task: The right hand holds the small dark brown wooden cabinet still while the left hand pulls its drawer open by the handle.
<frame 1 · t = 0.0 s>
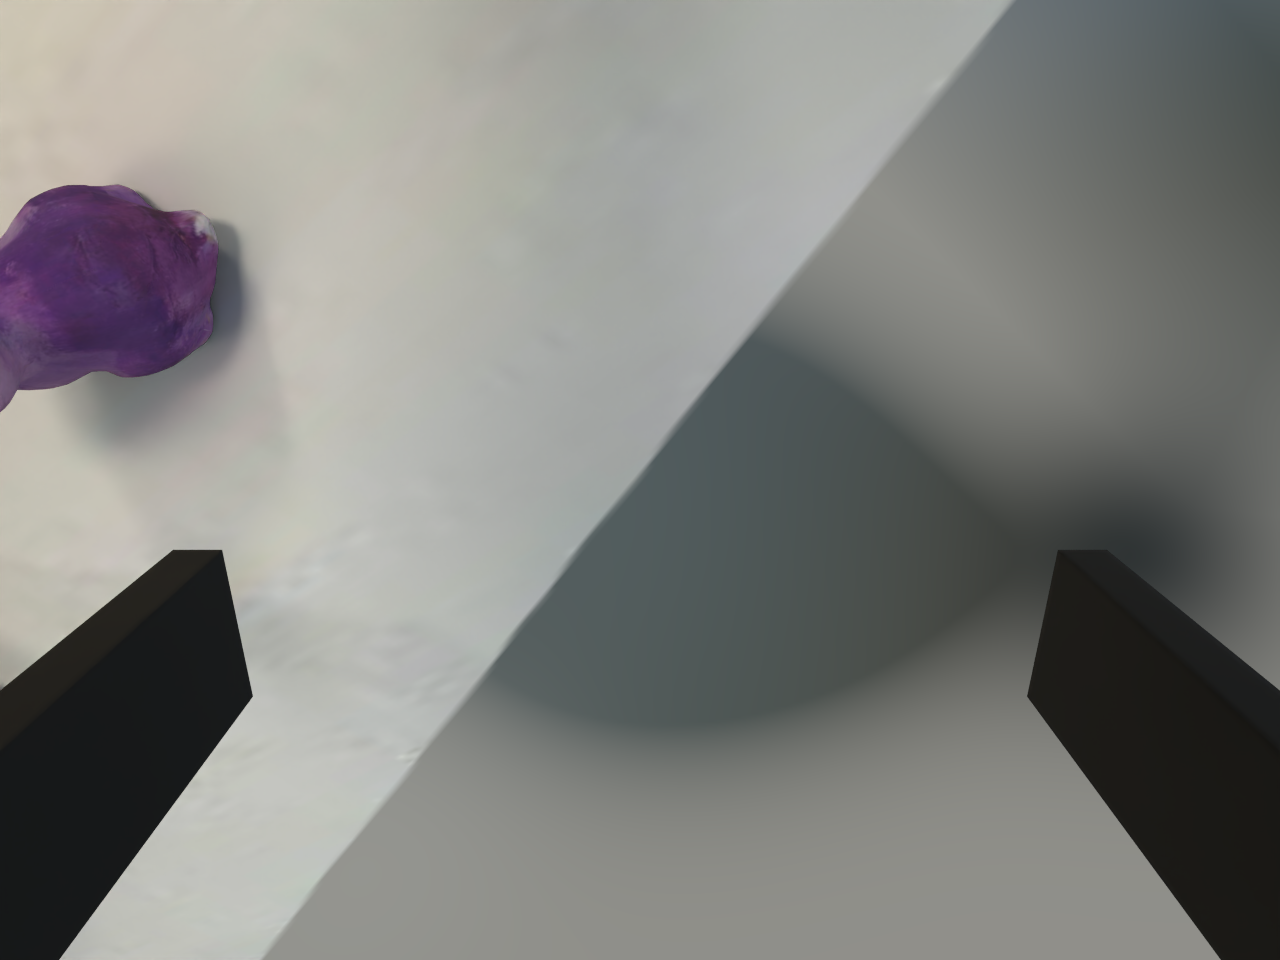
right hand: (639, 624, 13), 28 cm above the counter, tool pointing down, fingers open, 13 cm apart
figurine: (135, 295, 38), on the counter
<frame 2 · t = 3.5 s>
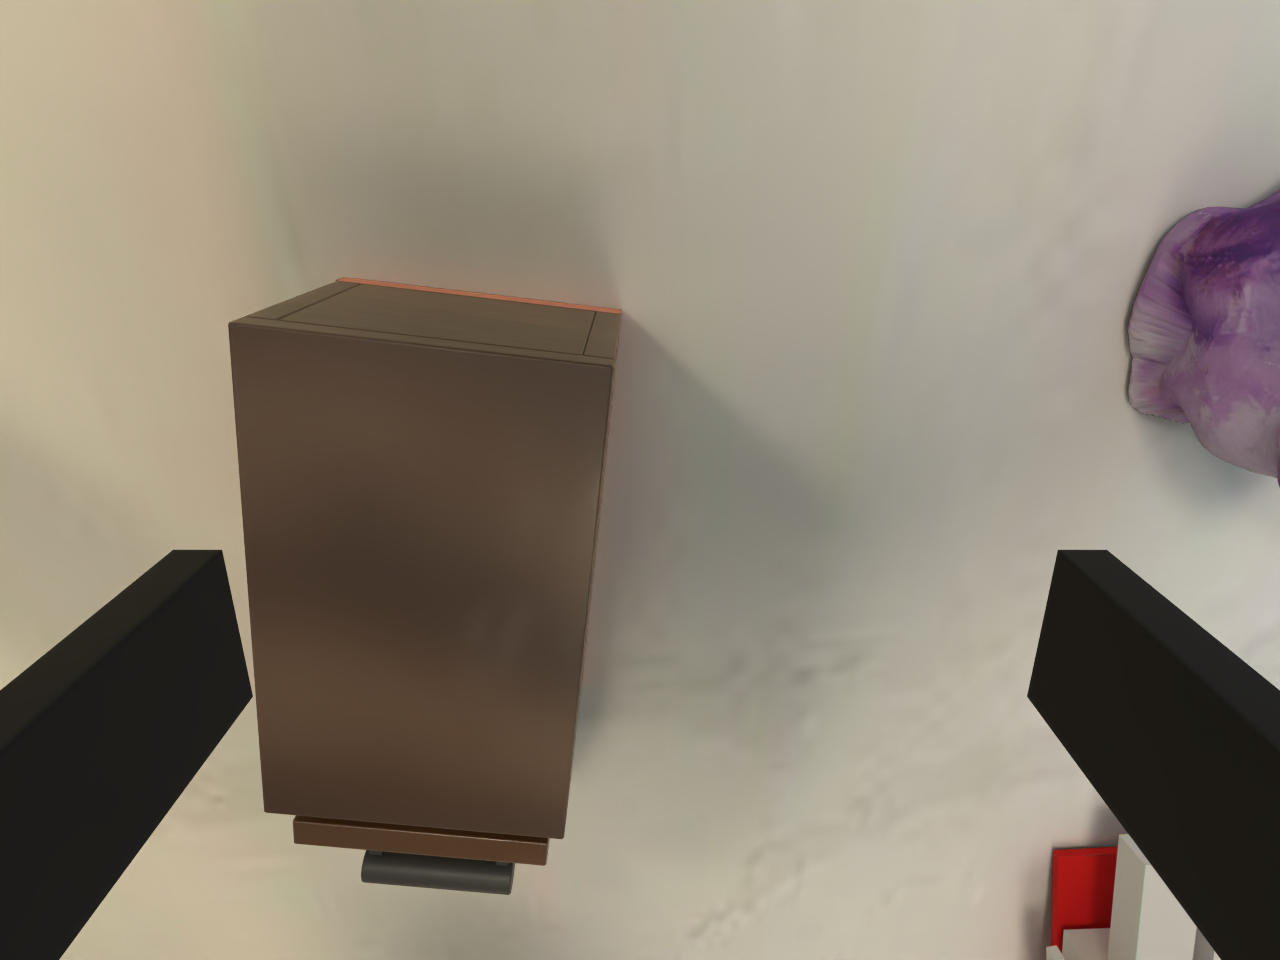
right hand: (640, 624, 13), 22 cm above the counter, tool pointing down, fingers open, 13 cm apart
drawer: (446, 678, 33), point 5 cm above the counter, slide at 1.3 cm
cabinet: (474, 501, 36), on the counter
figurine: (1220, 321, 33), on the counter
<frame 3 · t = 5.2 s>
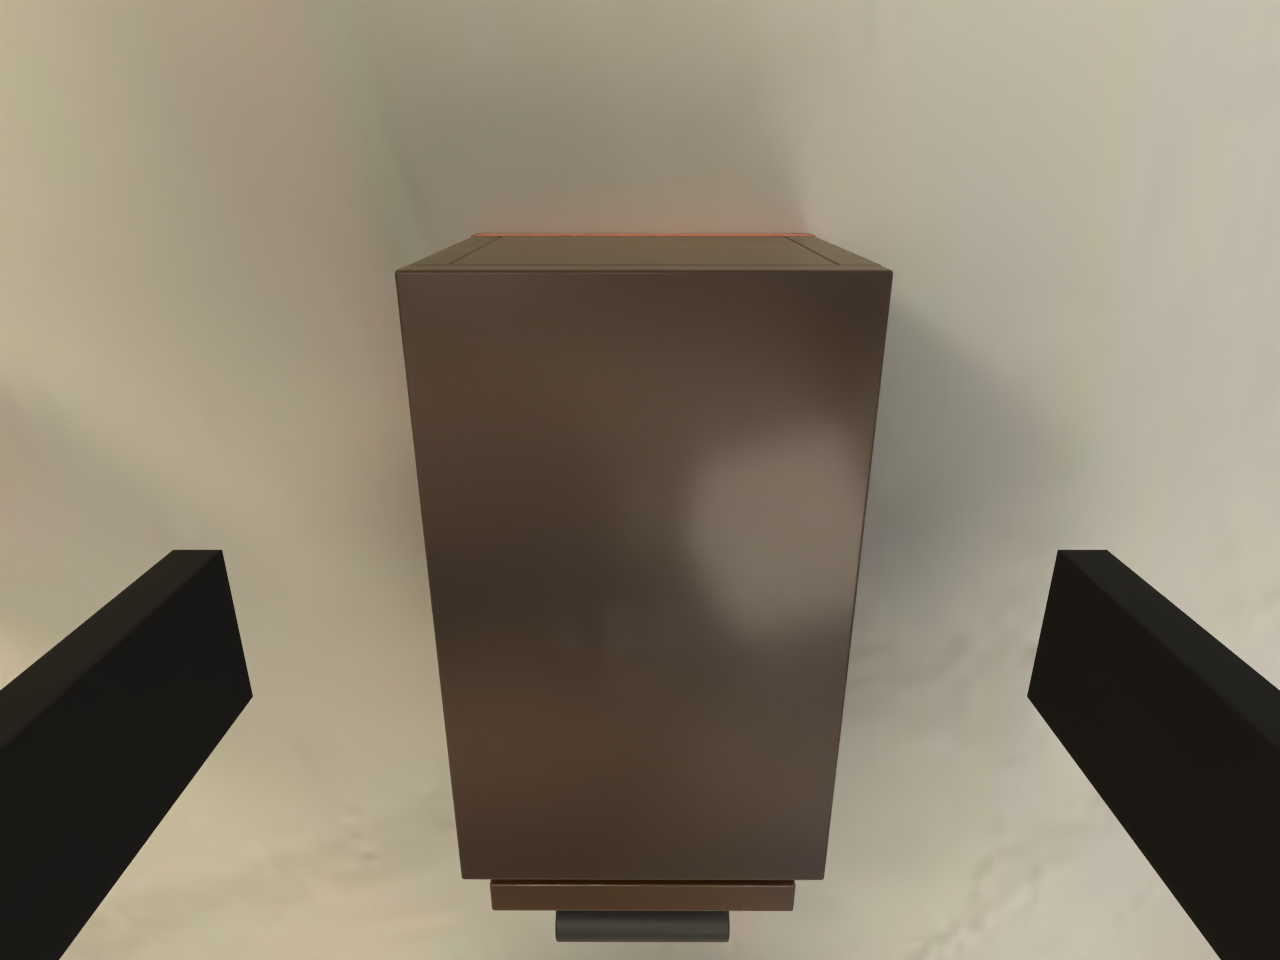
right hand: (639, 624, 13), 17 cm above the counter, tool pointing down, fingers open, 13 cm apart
drawer: (642, 696, 28), point 5 cm above the counter, slide at 1.3 cm
cabinet: (642, 486, 30), on the counter
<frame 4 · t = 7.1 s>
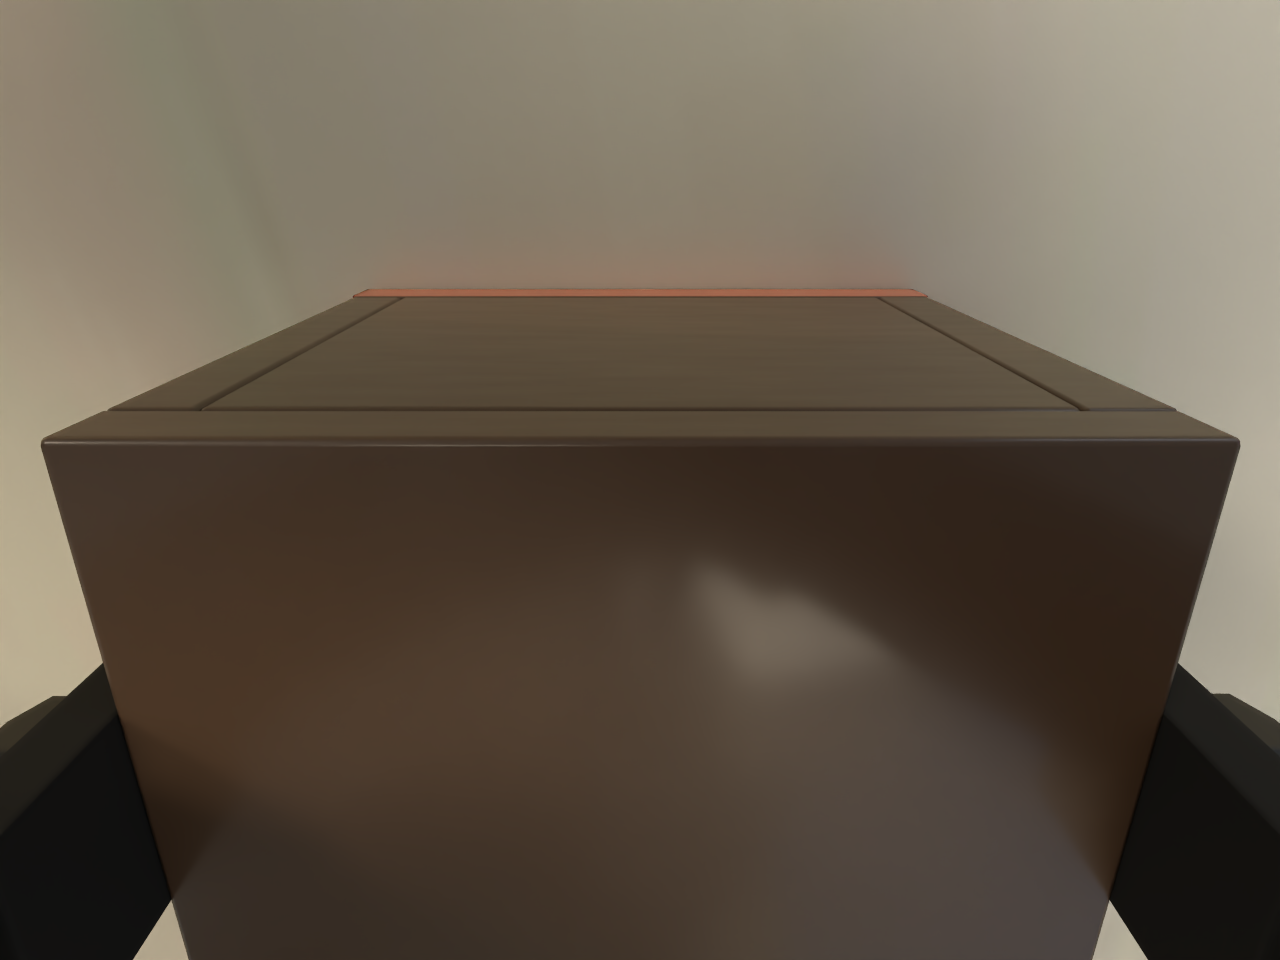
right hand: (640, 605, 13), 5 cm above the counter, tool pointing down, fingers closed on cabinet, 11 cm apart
cabinet: (640, 667, 20), on the counter, touching right hand
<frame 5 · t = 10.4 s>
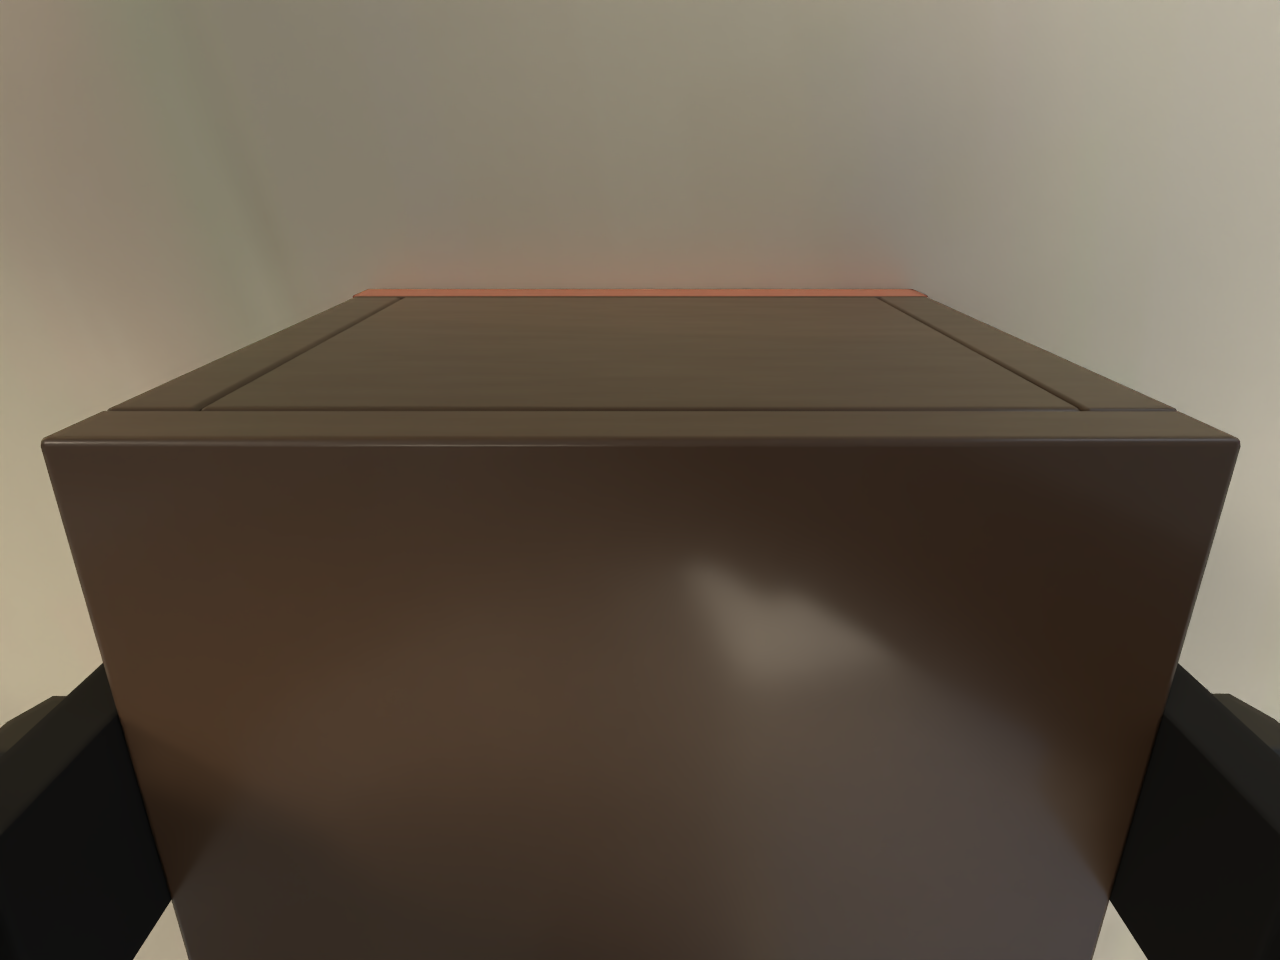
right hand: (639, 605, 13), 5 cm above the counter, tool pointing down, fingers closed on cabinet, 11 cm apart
cabinet: (640, 667, 20), on the counter, touching right hand
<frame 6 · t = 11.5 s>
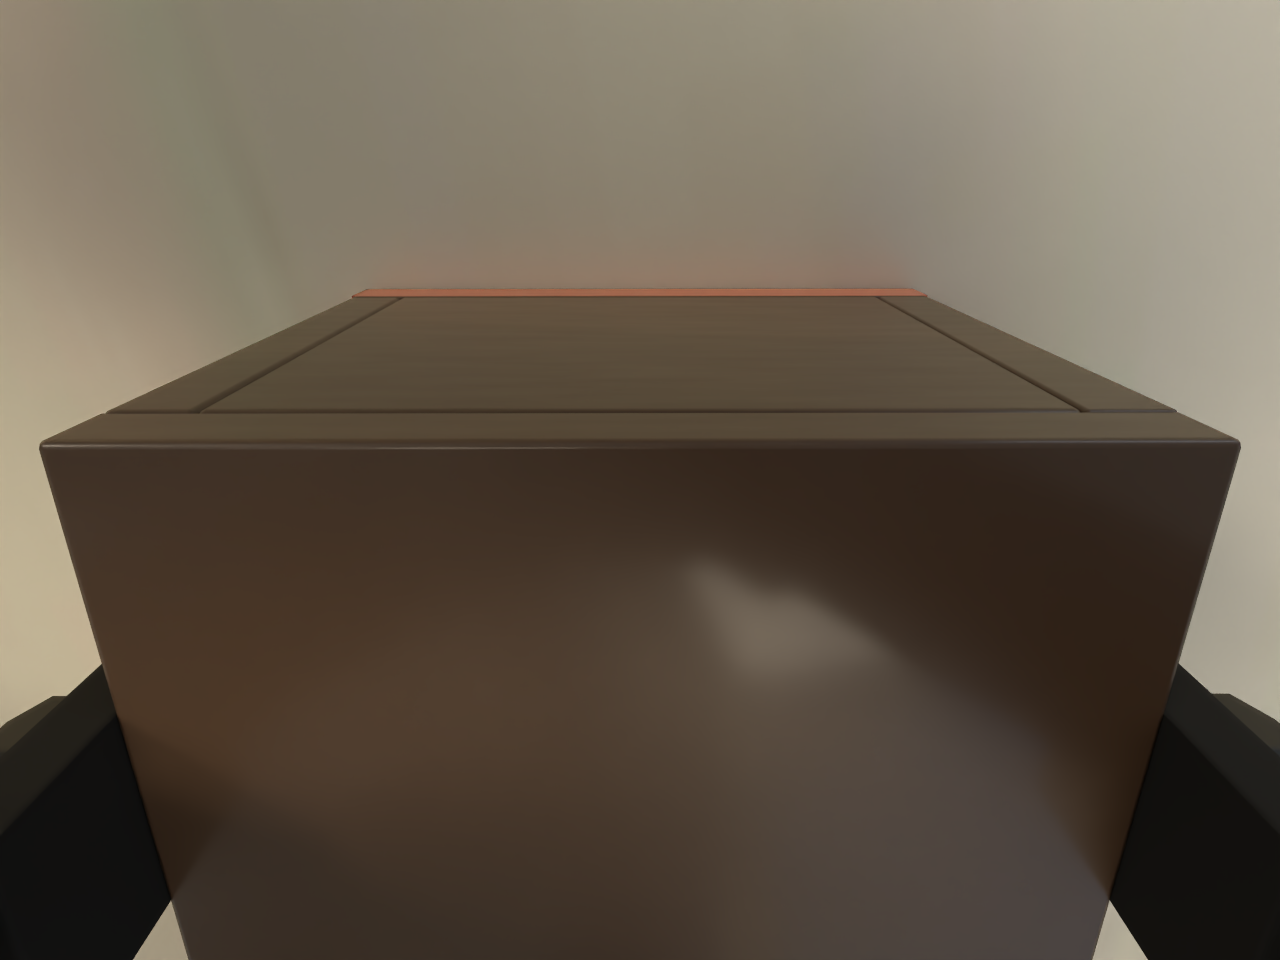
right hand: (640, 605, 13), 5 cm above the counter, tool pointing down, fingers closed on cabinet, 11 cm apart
cabinet: (640, 667, 20), on the counter, touching right hand
when the right hand's fingers open (5 cm above the counter, at t = 13.1 s): cabinet stays where it is, on the counter.
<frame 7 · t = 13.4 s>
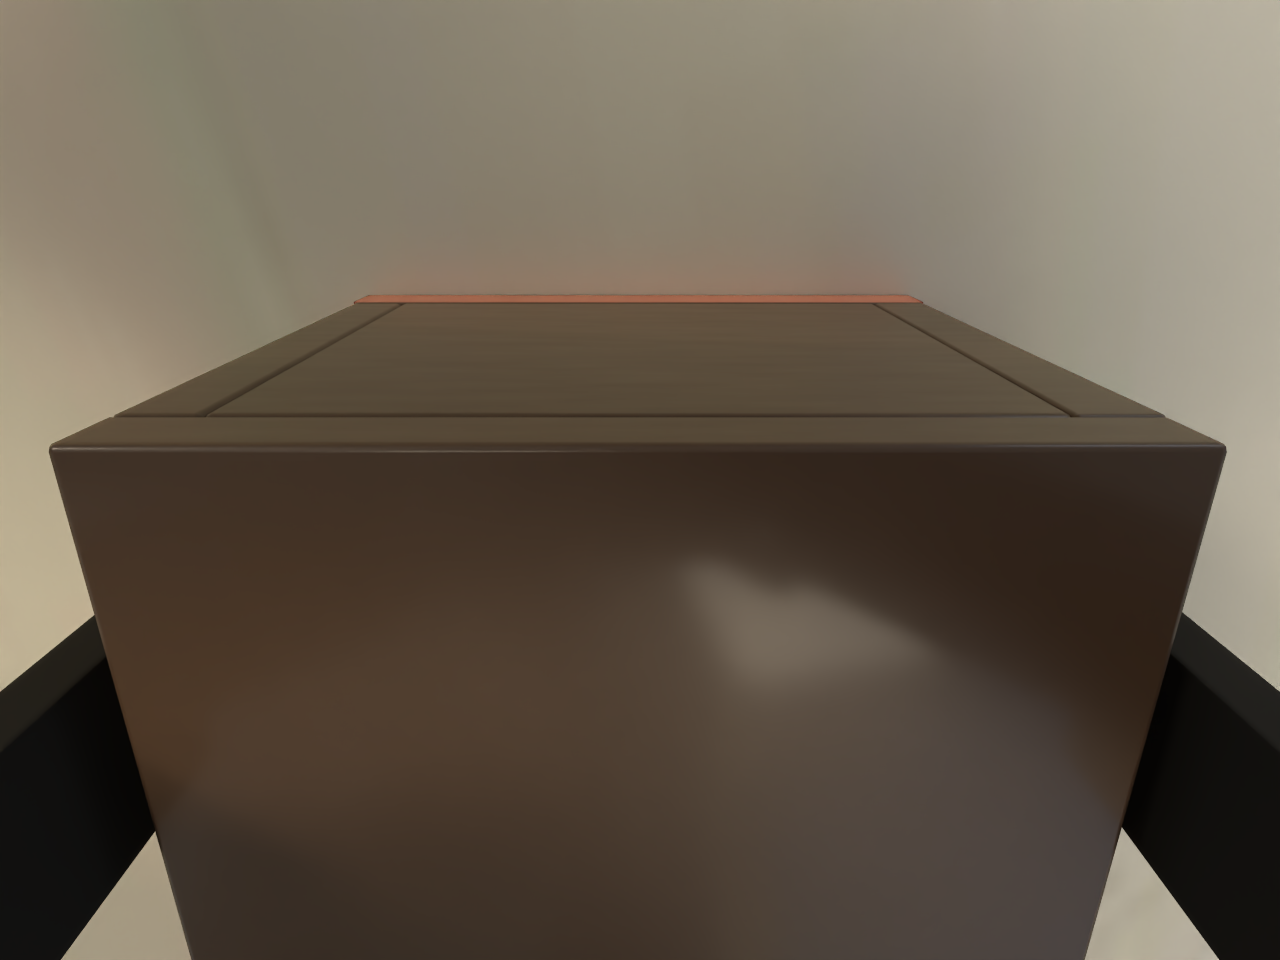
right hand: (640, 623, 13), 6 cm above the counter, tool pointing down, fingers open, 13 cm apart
cabinet: (638, 670, 20), on the counter
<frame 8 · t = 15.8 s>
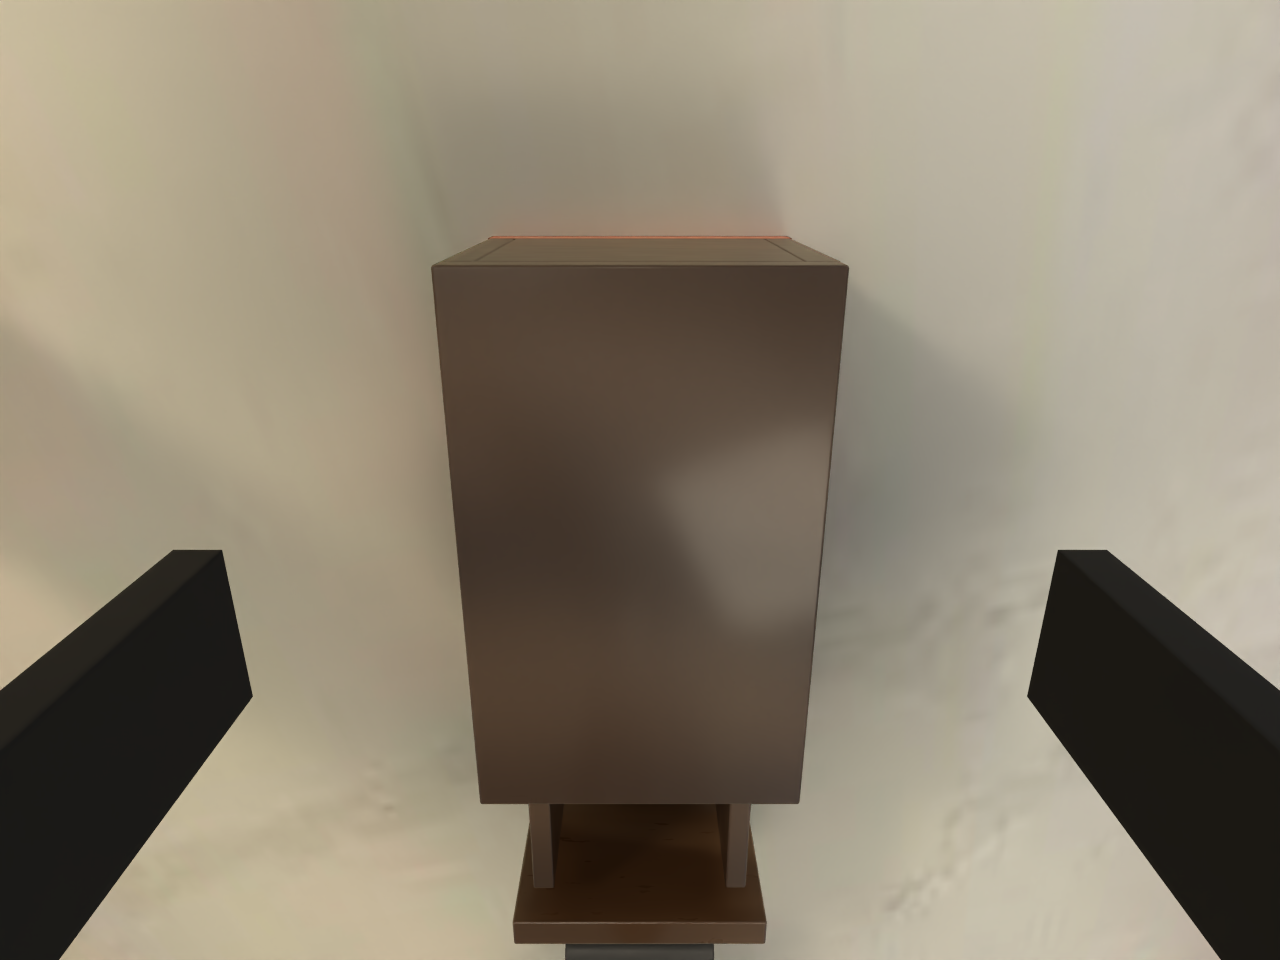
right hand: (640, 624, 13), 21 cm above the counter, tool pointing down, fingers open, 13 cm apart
drawer: (639, 762, 33), point 5 cm above the counter, slide at 6.9 cm
cabinet: (639, 463, 34), on the counter
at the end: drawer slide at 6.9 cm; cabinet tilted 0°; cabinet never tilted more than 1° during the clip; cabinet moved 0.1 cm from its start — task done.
